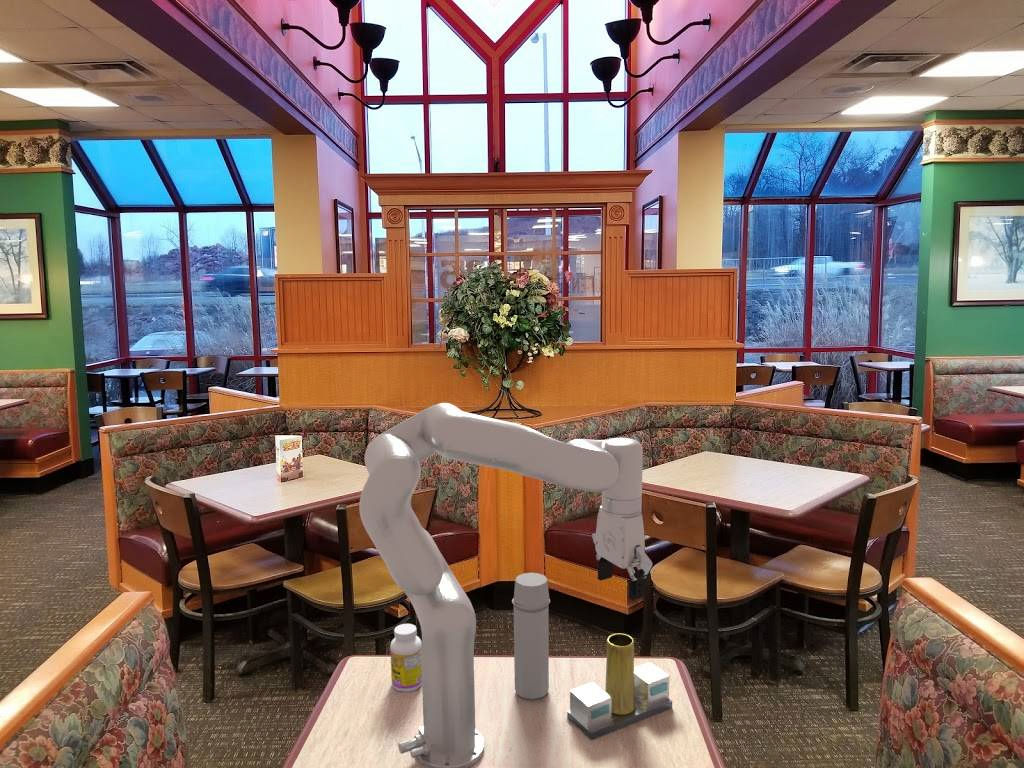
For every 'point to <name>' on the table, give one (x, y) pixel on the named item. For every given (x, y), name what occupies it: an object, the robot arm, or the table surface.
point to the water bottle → (531, 635)
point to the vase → (620, 673)
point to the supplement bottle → (406, 658)
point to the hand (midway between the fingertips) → (619, 588)
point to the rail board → (595, 704)
